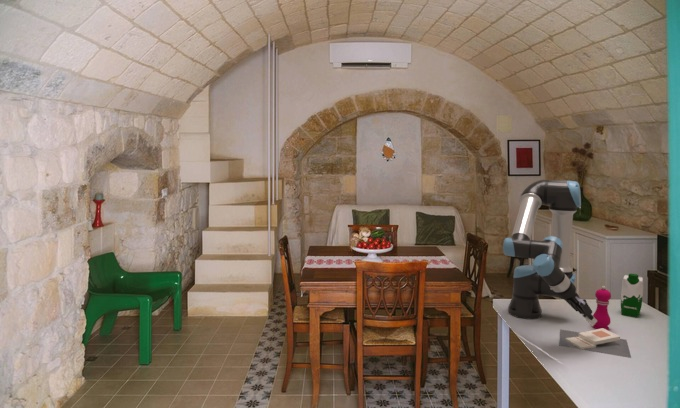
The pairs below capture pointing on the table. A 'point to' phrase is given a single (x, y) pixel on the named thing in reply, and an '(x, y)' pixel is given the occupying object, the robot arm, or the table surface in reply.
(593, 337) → the cream flat block
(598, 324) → the pepper mill
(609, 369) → the table surface
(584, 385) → the table surface
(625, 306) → the milk carton
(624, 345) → the slate board
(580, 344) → the base
